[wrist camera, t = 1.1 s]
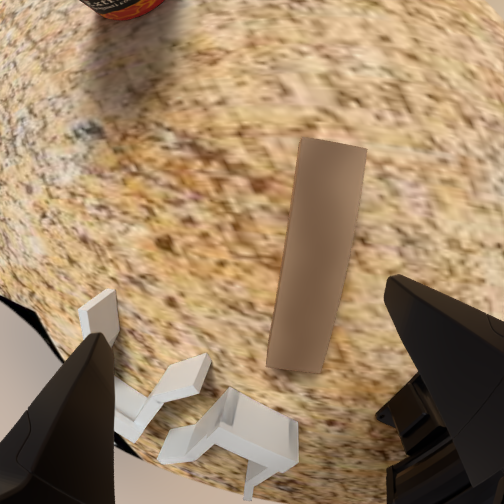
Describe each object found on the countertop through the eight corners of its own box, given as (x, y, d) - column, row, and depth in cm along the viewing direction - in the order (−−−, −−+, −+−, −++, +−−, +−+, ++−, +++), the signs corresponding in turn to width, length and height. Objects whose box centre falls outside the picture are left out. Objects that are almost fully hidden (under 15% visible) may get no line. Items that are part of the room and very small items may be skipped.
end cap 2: (168, 430, 26) (153, 465, 21) (214, 377, 23) (200, 416, 19) (253, 471, 26) (248, 506, 22) (311, 427, 24) (313, 467, 19)
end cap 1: (214, 357, 23) (199, 395, 18) (166, 417, 25) (149, 452, 21) (108, 284, 22) (74, 308, 18) (79, 357, 25) (52, 384, 20)
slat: (352, 153, 19) (367, 148, 15) (315, 345, 22) (320, 373, 19) (298, 143, 19) (302, 136, 15) (268, 339, 22) (265, 366, 19)
